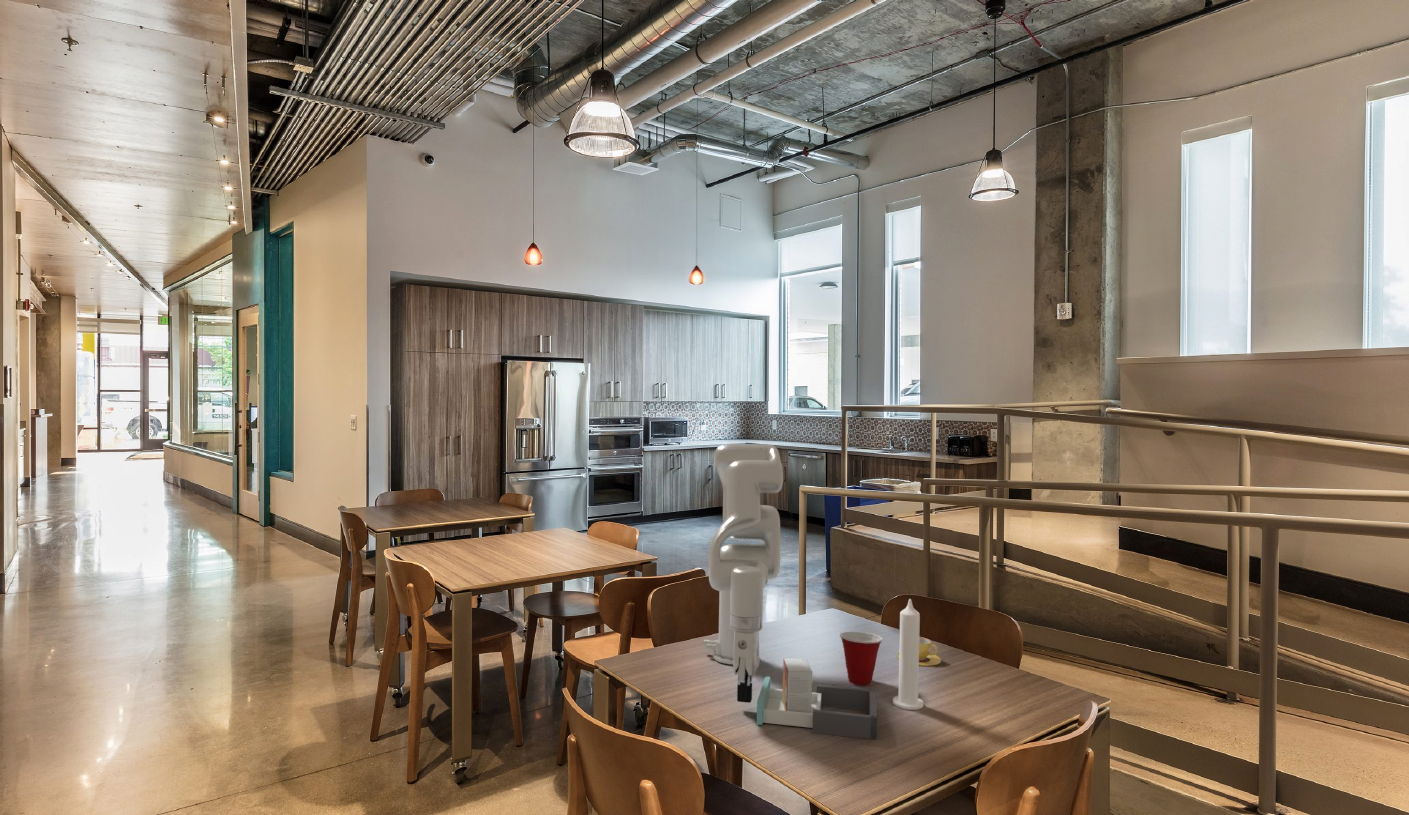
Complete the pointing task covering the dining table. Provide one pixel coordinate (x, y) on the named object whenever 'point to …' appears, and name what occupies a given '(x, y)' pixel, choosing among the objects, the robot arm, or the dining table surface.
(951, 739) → the dining table surface
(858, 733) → the bay
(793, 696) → the small box
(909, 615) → the candle
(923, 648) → the cup
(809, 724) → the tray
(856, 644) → the plastic cup
